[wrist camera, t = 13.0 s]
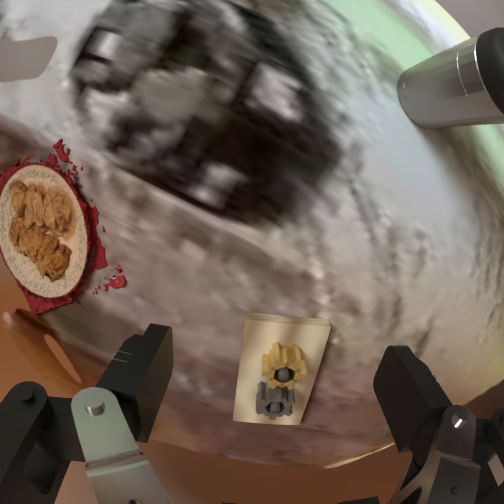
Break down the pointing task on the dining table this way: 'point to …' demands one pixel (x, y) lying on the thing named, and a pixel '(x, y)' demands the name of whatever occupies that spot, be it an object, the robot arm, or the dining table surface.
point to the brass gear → (283, 365)
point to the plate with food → (48, 232)
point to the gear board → (256, 386)
